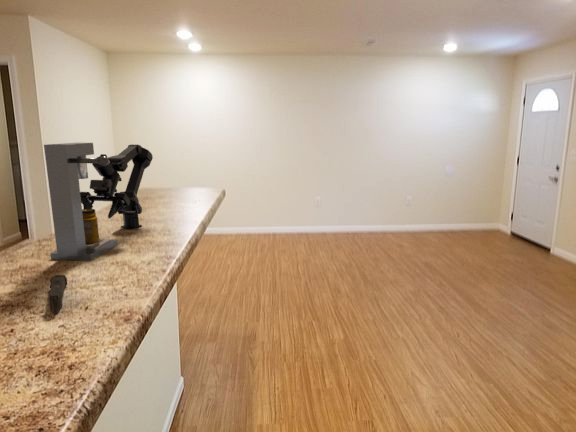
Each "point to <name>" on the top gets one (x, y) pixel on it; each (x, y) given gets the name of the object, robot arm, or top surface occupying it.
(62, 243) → the coffee machine
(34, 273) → the top surface
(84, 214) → the condiment
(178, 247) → the top surface
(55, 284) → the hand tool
